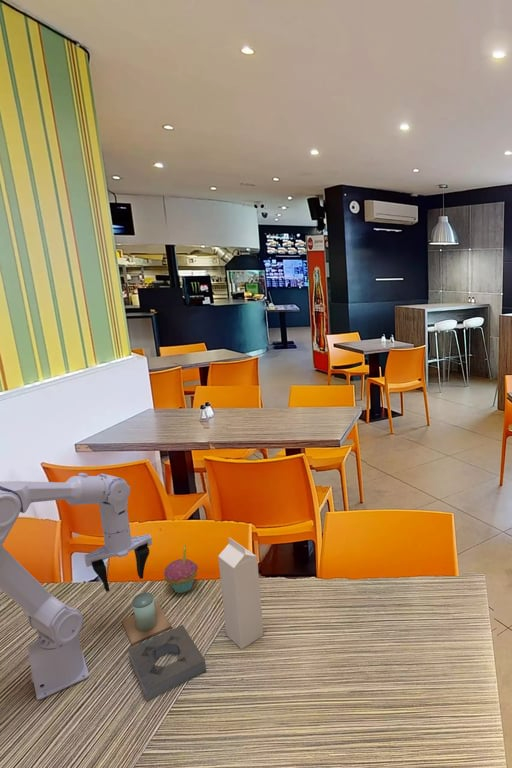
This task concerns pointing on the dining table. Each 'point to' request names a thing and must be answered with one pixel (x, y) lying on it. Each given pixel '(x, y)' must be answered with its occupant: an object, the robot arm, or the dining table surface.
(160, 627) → the coaster
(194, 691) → the dining table surface
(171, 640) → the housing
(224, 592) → the milk
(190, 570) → the cupcake
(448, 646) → the dining table surface
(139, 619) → the cylinder
